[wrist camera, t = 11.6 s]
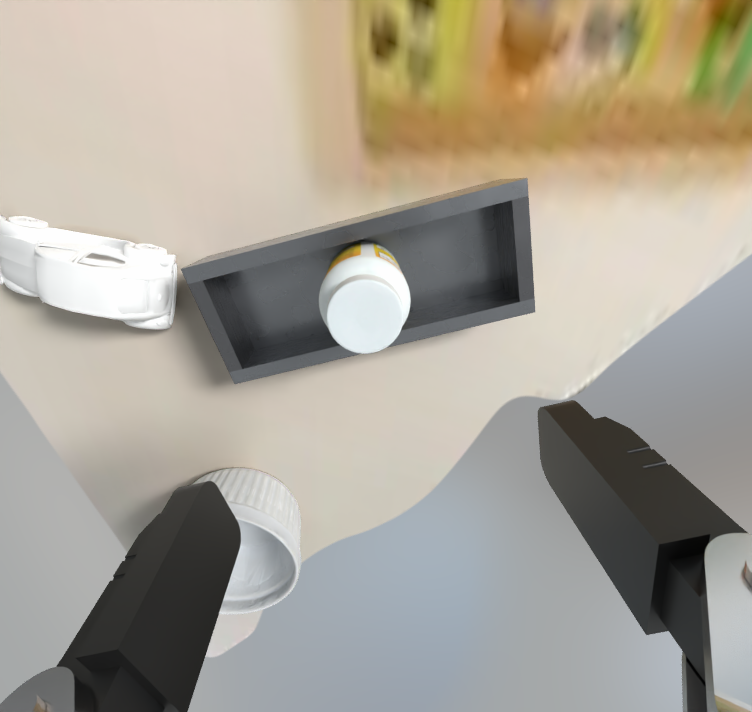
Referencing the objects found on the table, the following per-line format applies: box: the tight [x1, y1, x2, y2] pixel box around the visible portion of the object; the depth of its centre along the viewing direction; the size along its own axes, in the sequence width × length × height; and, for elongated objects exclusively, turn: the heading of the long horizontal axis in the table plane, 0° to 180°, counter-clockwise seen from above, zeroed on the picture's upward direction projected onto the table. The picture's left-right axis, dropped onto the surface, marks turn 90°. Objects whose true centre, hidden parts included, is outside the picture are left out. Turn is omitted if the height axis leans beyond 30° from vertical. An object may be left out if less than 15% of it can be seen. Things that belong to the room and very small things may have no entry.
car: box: [0, 215, 177, 330], centre depth 26 cm, size 12×6×5 cm, turn 74°
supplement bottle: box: [319, 242, 411, 354], centre depth 23 cm, size 5×5×10 cm
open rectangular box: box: [181, 178, 535, 384], centre depth 26 cm, size 9×22×4 cm, turn 104°
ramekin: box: [192, 468, 301, 614], centre depth 35 cm, size 13×13×7 cm
